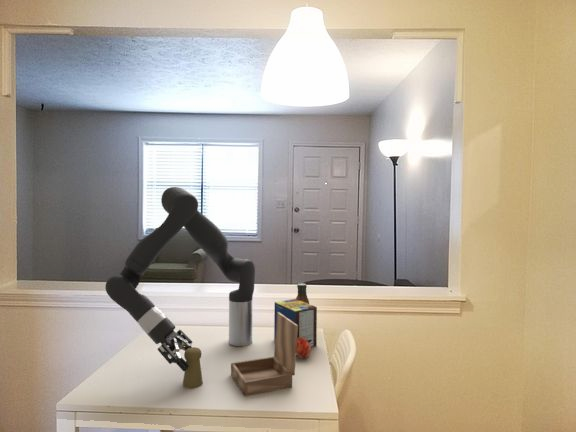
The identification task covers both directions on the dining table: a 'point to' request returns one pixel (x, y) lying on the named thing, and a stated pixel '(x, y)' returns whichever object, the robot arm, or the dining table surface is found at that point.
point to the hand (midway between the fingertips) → (192, 363)
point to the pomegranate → (303, 347)
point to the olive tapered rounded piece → (193, 368)
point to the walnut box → (260, 375)
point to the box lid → (286, 342)
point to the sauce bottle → (302, 293)
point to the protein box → (299, 318)
